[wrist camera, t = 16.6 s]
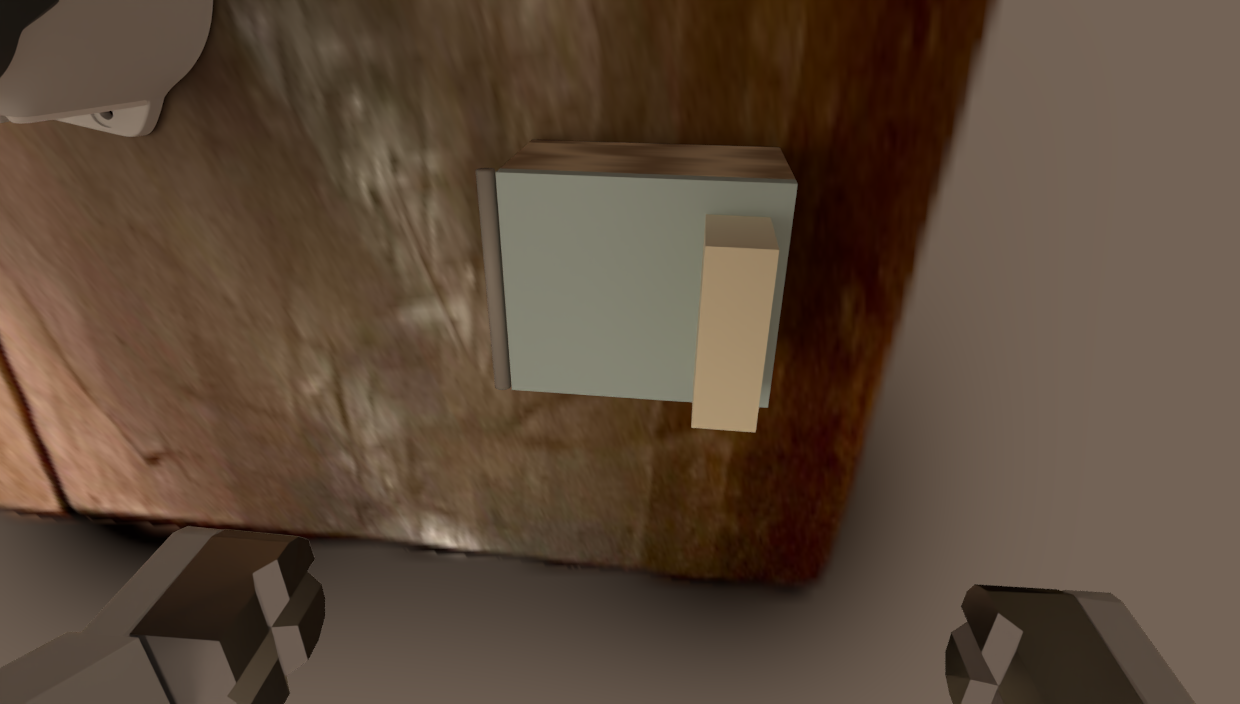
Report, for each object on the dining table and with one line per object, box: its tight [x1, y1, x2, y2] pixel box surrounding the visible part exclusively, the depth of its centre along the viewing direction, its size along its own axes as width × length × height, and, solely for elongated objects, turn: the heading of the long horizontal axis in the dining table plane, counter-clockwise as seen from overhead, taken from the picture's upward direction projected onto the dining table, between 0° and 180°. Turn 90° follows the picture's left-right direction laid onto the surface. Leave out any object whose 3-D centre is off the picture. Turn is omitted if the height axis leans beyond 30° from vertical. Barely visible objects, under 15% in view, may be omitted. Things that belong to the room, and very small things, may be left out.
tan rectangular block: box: [691, 214, 779, 432], centre depth 32 cm, size 3×9×4 cm, turn 179°
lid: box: [476, 168, 798, 408], centre depth 35 cm, size 15×12×1 cm
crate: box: [501, 140, 795, 180], centre depth 38 cm, size 14×12×7 cm
